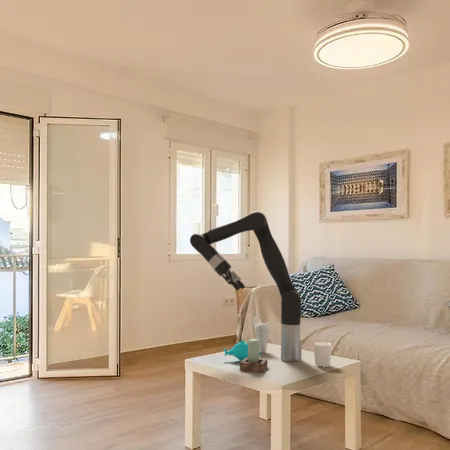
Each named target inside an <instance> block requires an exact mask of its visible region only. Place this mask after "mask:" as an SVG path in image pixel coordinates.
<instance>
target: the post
mask: <svg viewBox="0 0 450 450" xmlns="http://www.w3.org/2000/svg"><path fill="white" fill-rule="evenodd" d="M247 344H248V362H251V363H259V359H260V356H259V340H256V339H255V338H254V339H253V338H251V339H248V340H247Z"/></svg>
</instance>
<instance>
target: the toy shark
mask: <svg viewBox="0 0 450 450" xmlns="http://www.w3.org/2000/svg"><path fill="white" fill-rule="evenodd" d="M222 350H223V351H224V357H226V356H227V355H229V356H233V357H234V358H236V359H237V360H238V361H240V362H241V361H242V360H244V359H245V358H246V357H247V358H248V342H245V341H244V339H242V338H241V340H240V342H238V343H236V344H235V345H234V346H232V348H229V350H227V349H226V348H224V347H222ZM261 354H262V353H261V352H260V350H259V357H260V356H261Z"/></svg>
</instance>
